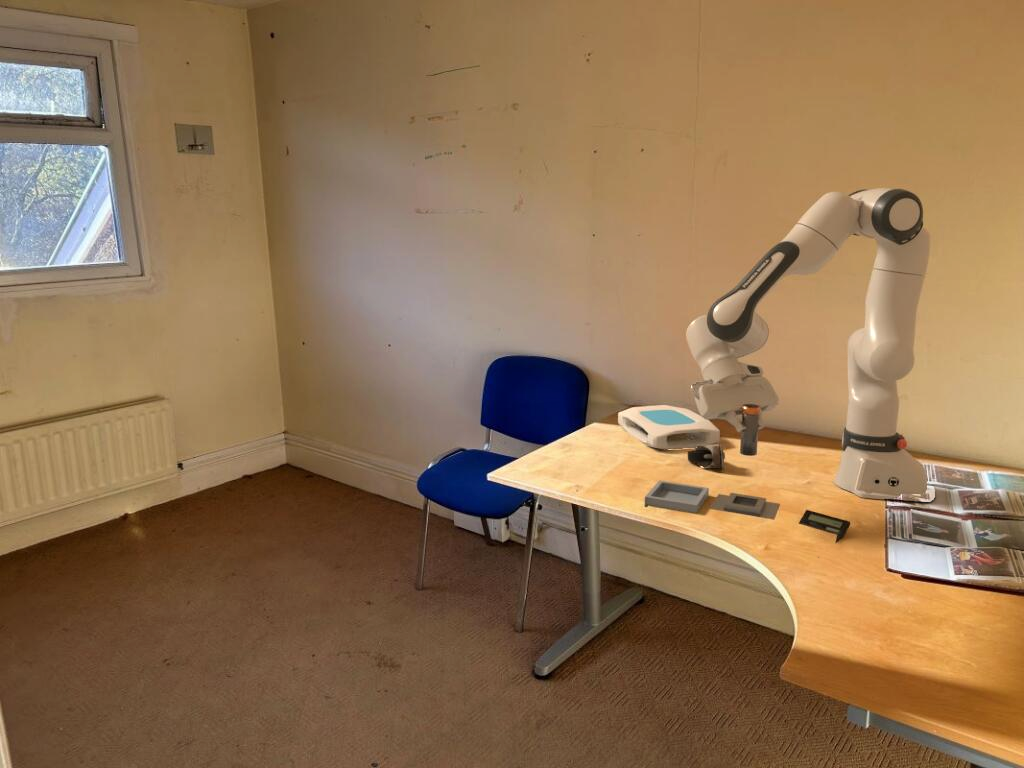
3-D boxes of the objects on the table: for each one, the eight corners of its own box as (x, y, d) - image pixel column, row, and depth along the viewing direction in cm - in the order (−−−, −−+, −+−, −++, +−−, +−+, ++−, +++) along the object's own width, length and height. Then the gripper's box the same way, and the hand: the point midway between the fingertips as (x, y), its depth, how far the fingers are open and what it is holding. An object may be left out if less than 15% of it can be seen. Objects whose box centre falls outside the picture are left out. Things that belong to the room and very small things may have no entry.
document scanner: (654, 453, 211) (654, 432, 210) (616, 426, 238) (617, 407, 236) (720, 446, 216) (721, 426, 215) (676, 421, 243) (677, 403, 241)
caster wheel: (690, 466, 206) (727, 464, 203) (686, 471, 196) (725, 469, 192) (688, 442, 207) (725, 440, 203) (683, 446, 196) (722, 443, 193)
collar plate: (779, 506, 171) (780, 498, 171) (773, 521, 163) (774, 514, 162) (718, 496, 177) (718, 489, 177) (709, 511, 169) (709, 503, 168)
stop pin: (758, 452, 168) (761, 405, 165) (755, 456, 165) (758, 409, 162) (741, 449, 169) (744, 403, 167) (738, 454, 166) (741, 407, 164)
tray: (708, 497, 177) (708, 487, 176) (696, 515, 166) (696, 505, 166) (659, 489, 182) (659, 480, 181) (644, 506, 172) (644, 496, 171)
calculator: (782, 537, 155) (783, 524, 155) (806, 521, 163) (807, 509, 163) (826, 551, 149) (827, 537, 148) (849, 534, 157) (850, 521, 156)
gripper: (694, 374, 165) (720, 427, 159) (766, 366, 173) (794, 416, 166) (682, 390, 170) (706, 442, 164) (752, 381, 178) (779, 430, 171)
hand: (751, 429), depth 165 cm, fingers closed on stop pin, 4 cm apart
